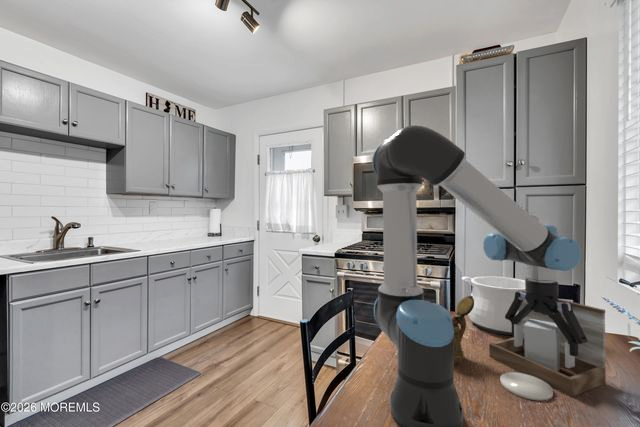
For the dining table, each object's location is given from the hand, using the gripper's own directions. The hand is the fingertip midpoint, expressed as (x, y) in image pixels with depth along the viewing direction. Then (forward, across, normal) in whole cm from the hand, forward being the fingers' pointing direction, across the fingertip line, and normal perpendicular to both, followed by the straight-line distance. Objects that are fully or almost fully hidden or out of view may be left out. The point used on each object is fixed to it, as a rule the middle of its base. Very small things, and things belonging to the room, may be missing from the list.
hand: (542, 355), depth 85 cm
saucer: (+4, -4, +13) cm, 14 cm away
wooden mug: (+4, +16, +16) cm, 23 cm away
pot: (+4, +27, -20) cm, 34 cm away
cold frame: (+4, 0, 0) cm, 4 cm away
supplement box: (+4, 0, 0) cm, 4 cm away
